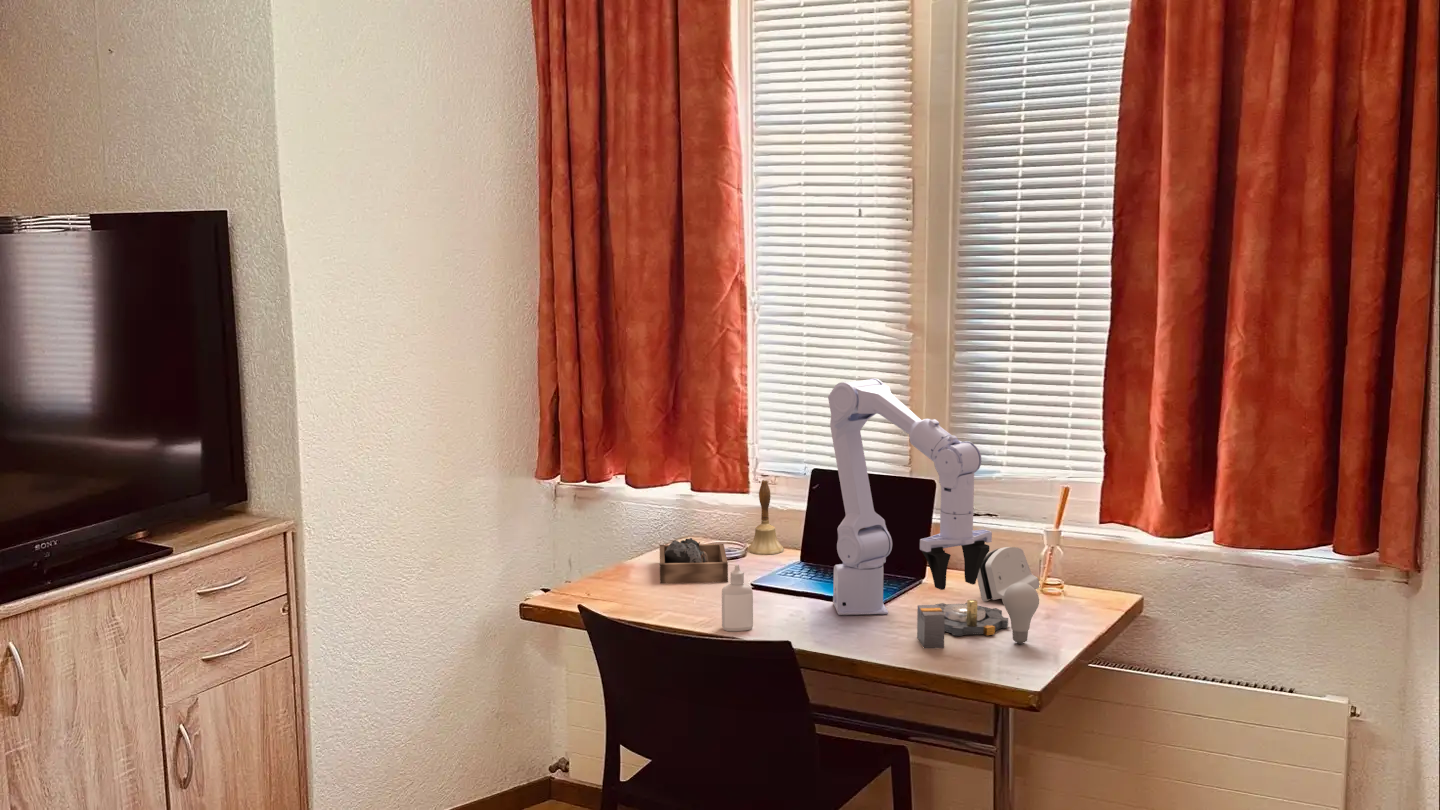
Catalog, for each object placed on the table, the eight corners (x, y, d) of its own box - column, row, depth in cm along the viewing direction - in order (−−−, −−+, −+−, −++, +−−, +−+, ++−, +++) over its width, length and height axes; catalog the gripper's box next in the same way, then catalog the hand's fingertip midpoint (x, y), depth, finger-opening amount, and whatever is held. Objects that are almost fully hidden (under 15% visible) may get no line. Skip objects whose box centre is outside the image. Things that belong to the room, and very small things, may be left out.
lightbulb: (997, 638, 223) (999, 578, 222) (1031, 637, 224) (1033, 577, 222) (1008, 650, 217) (1010, 588, 216) (1042, 649, 218) (1044, 587, 216)
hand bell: (743, 554, 282) (743, 484, 279) (751, 544, 290) (751, 476, 287) (780, 556, 280) (780, 485, 277) (786, 546, 288) (786, 478, 285)
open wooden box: (660, 583, 259) (659, 564, 258) (659, 562, 275) (659, 544, 274) (727, 582, 259) (727, 563, 259) (723, 561, 275) (723, 543, 275)
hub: (948, 630, 228) (948, 615, 228) (939, 617, 235) (939, 603, 235) (989, 629, 228) (990, 614, 228) (979, 616, 236) (979, 602, 235)
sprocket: (932, 636, 224) (932, 605, 223) (914, 610, 239) (915, 581, 238) (1016, 634, 225) (1017, 603, 224) (993, 608, 240) (994, 579, 239)
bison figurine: (696, 581, 259) (731, 568, 266) (693, 548, 258) (728, 536, 265) (658, 571, 268) (693, 558, 275) (655, 540, 267) (690, 527, 273)
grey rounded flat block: (1005, 605, 242) (990, 555, 243) (983, 609, 245) (969, 560, 246) (1041, 585, 256) (1027, 538, 256) (1020, 589, 258) (1006, 542, 259)
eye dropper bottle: (747, 633, 227) (747, 569, 225) (718, 630, 229) (718, 566, 227) (755, 626, 231) (755, 563, 229) (727, 623, 233) (727, 560, 231)
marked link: (924, 648, 219) (924, 614, 218) (916, 637, 224) (917, 604, 224) (944, 648, 219) (944, 614, 218) (936, 637, 225) (937, 603, 224)
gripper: (937, 520, 214) (936, 597, 216) (1003, 510, 221) (1001, 585, 223) (913, 512, 221) (911, 587, 223) (977, 503, 227) (976, 575, 229)
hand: (955, 585), depth 223 cm, fingers open, 6 cm apart
